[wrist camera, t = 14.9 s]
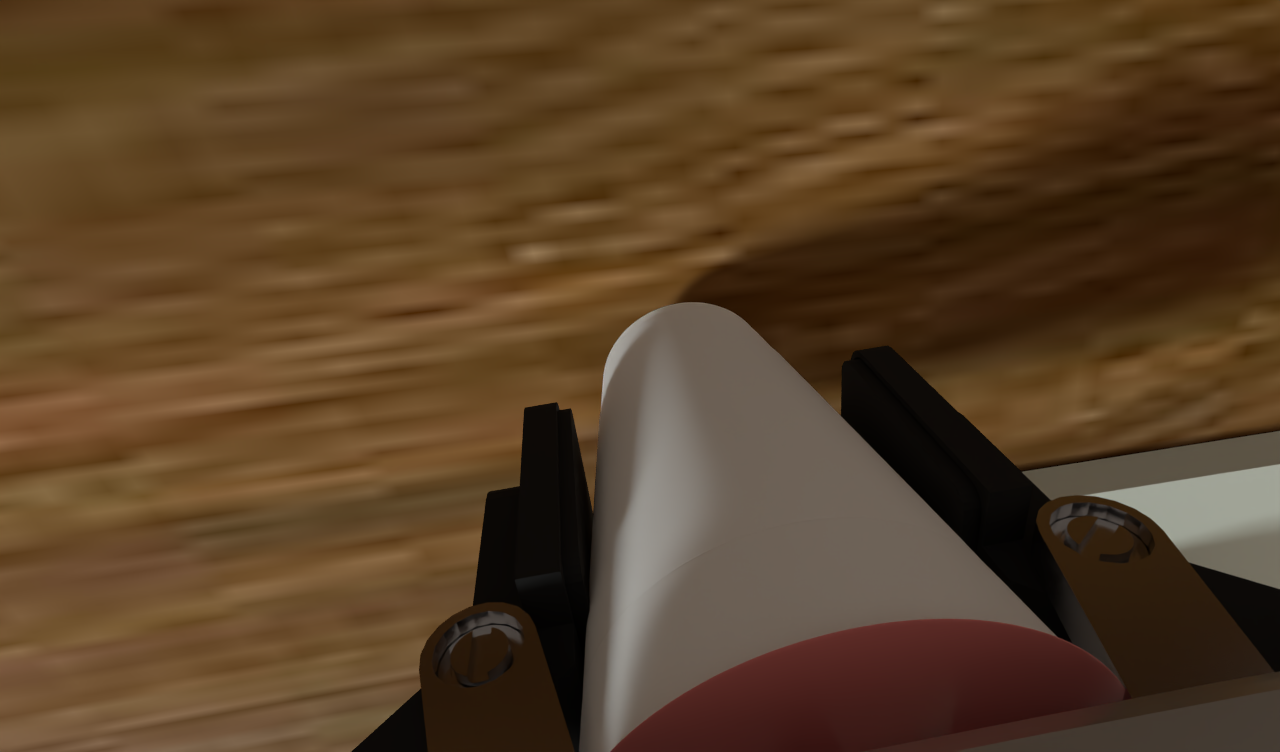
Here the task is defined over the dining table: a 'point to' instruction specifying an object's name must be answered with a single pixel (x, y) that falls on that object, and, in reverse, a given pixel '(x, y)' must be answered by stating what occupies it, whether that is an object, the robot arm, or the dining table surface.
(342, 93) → the dining table surface
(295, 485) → the dining table surface
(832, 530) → the cup
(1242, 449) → the board
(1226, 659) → the robot arm
